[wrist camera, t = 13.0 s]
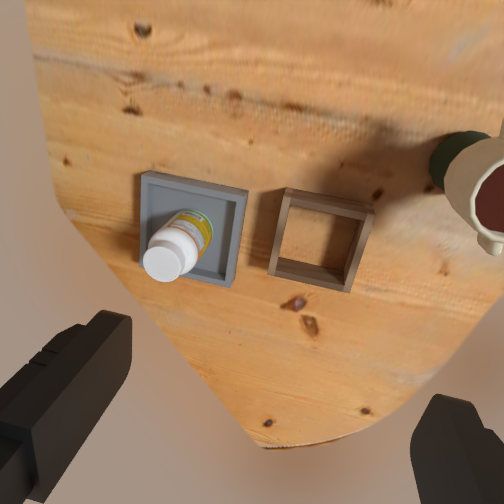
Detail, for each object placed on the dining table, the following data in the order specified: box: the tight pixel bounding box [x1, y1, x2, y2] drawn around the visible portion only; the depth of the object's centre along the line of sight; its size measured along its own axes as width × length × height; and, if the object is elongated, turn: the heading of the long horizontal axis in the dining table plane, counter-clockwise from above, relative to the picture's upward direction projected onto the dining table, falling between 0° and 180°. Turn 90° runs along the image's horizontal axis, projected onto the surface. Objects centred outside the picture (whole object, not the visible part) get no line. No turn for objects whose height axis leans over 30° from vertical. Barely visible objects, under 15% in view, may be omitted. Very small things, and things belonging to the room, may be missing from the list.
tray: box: [139, 170, 248, 288], centre depth 44 cm, size 12×12×2 cm
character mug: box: [429, 119, 504, 256], centre depth 31 cm, size 11×7×13 cm, turn 3°
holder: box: [267, 187, 375, 293], centre depth 41 cm, size 10×10×4 cm
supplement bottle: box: [143, 209, 213, 282], centre depth 40 cm, size 5×5×10 cm
